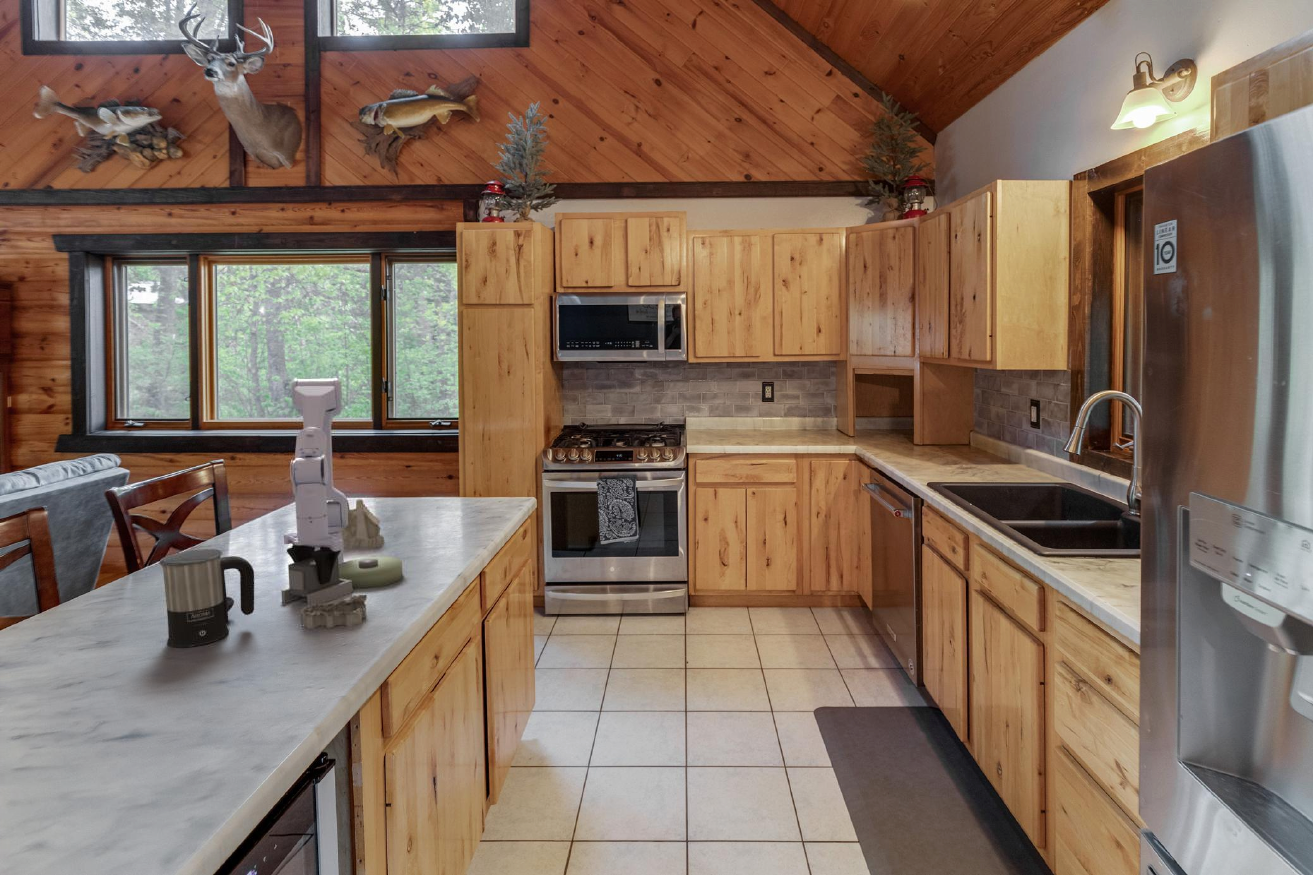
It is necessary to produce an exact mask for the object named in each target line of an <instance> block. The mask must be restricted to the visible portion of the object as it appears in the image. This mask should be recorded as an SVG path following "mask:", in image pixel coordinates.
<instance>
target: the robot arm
mask: <svg viewBox="0 0 1313 875" xmlns="http://www.w3.org/2000/svg"><path fill="white" fill-rule="evenodd" d="M290 386H291V392H290V393H291V401H292V405H293V406H294V409H295V411H296V412H297V414H298V415H299V416H301V417H302V421H303V424H302V425H303V426H302V427H303V429H301V430H300V431H299V432H298V433H297V435H296V442H295V452H294V460H293V459H292V460H291V461H290V464H289V465H290V466H289V473H290V476H289V477H290V482H291V484H292V493H293V496H294V500H295V501H294V503H295V517H296V518H295V519H296V523H295V524H296V532H290V533H285V534H283V542H284V545H291V547H288V548H287V549H286V553H287V555H289V557H290V559H292V561H293V563H295V562H299V561H302V560H305V559H309V558H312V557H313V558H314V561H315V563H316V567H317V573H318V579H319V583H320V584H321V585H323V584H326V583H329V582H330V580H331V575H332V571H333V567H334V564H335V561H336V559H337V557H338V563H339V564H341V563H343V562H345V561H344V558H345V556H344V550H343V549H344V545H343V537H342V529H343V528H346V526H347V525H348V506H347V500H348V499H347V496H346V494H345V493H343V491H340V490H338V489H337V488H335V487H334V475H333V474H334V473H333V472H334V470H333V469H334V468H333V466H334V465H333V447H332V446H333V444H332V442H333V441H332V424H333V420H334V417H336V416H338V415H340V414H341V413H342V408H343V406H342V404H343V403H342V400H343V399H342V395H343V394H342V382H341V380H340V379H339V378H337V377H335V378H306V379H304V378H294V379H293V380H292V381H291V385H290ZM333 500H336V501H338V502H328V501H333Z"/></svg>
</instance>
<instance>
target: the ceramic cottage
mask: <svg viewBox="0 0 1313 875" xmlns="http://www.w3.org/2000/svg"><path fill="white" fill-rule="evenodd" d="M327 502H338V501H336V500H328V501H327ZM355 503H356V504H355V506H356V507H355V508H352V509H350V504H349V500H348V499H347V506H348V525H347V526H346V528H343V529H342V537H343V545H344V549H343V551H346V550H348V551H349V550H350V551H351V550H367V549H368V550H369V548H370V549H375V548H379V547H382V546H383V545H384V544H385V537H384V535H383V534H381V533H380V532H381V527H380V525H379V524H380V523H381V520H380V519H379V518H378V517H376V515H375V514H373V513H372V512H371V510H370V509H368V507H367V506H366V504H364V500H363V499H362V498H357V499H356V501H355Z"/></svg>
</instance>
